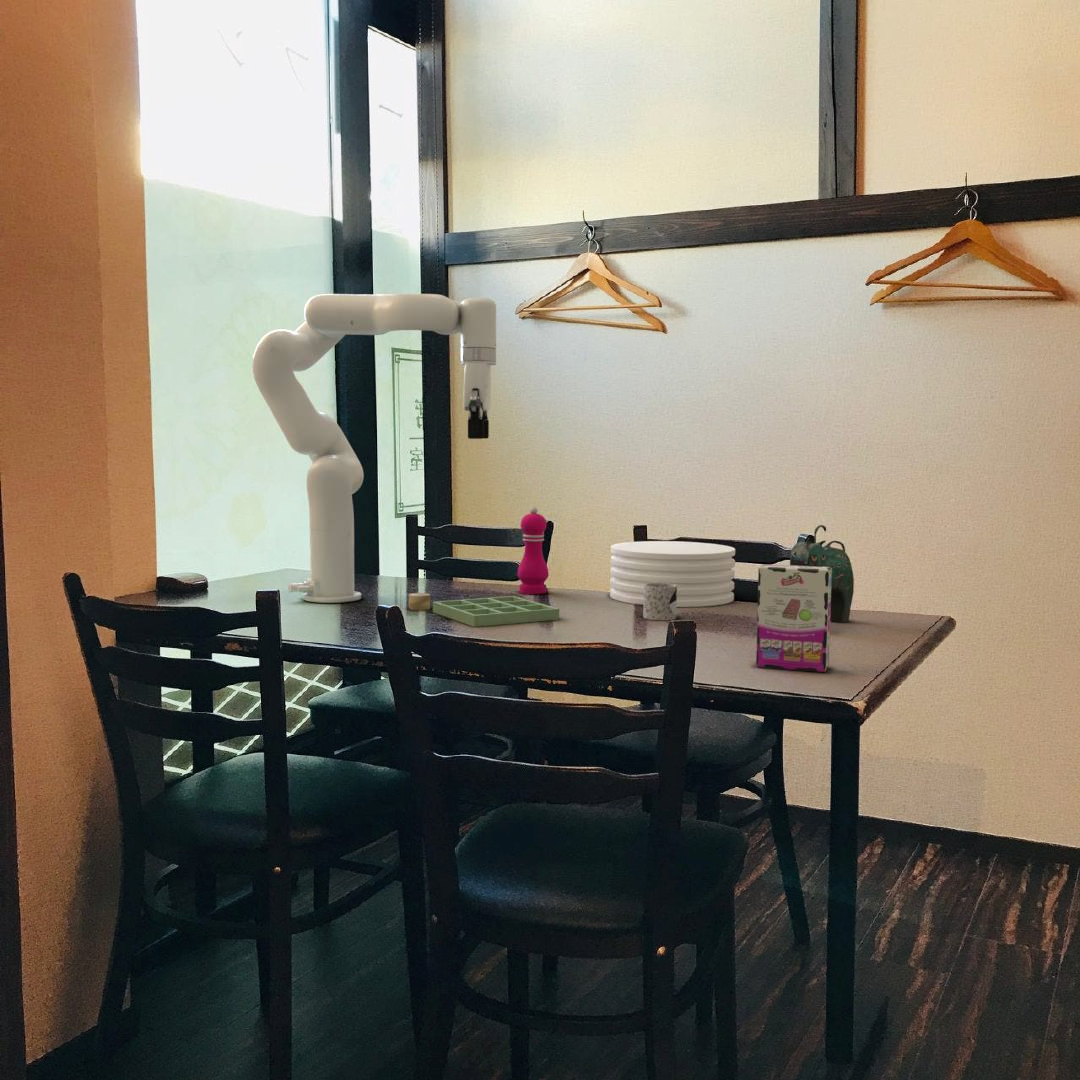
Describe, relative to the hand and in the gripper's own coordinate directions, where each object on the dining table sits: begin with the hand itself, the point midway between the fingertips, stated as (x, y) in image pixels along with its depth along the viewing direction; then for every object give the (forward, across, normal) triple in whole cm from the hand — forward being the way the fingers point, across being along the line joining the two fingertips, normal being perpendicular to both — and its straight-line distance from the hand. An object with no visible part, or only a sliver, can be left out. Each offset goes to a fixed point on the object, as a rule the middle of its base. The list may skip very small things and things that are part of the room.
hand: (478, 438), depth 238 cm
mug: (+36, +12, +39) cm, 54 cm away
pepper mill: (+36, -18, +10) cm, 41 cm away
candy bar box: (+36, +59, +58) cm, 90 cm away
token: (+36, +9, -11) cm, 38 cm away
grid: (+36, +16, +5) cm, 39 cm away
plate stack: (+36, -15, +42) cm, 58 cm away
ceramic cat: (+36, +18, +70) cm, 81 cm away
